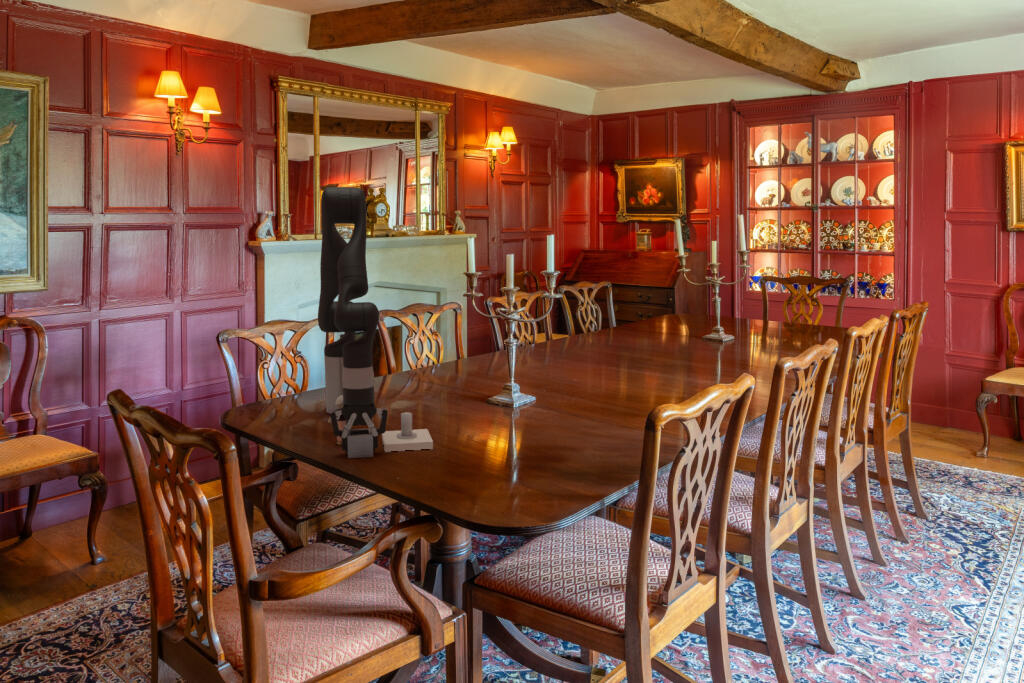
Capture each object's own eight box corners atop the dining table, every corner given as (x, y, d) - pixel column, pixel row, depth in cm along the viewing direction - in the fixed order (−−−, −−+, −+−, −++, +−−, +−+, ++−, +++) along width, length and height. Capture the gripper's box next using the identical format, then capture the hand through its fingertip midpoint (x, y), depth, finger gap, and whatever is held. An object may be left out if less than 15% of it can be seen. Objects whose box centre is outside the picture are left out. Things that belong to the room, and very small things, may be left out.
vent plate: (381, 438, 199) (381, 409, 198) (427, 436, 202) (427, 407, 200) (384, 452, 187) (384, 421, 186) (433, 449, 190) (432, 418, 189)
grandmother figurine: (359, 441, 197) (358, 393, 195) (357, 445, 193) (355, 397, 191) (329, 441, 197) (328, 393, 195) (326, 445, 193) (325, 397, 191)
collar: (347, 450, 188) (347, 429, 187) (372, 449, 190) (371, 428, 189) (348, 458, 183) (347, 436, 182) (373, 456, 184) (372, 434, 183)
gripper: (387, 379, 189) (388, 444, 191) (328, 382, 185) (330, 448, 188) (389, 386, 181) (390, 453, 184) (327, 388, 178) (330, 457, 181)
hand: (360, 450), depth 186 cm, fingers closed on collar, 6 cm apart
